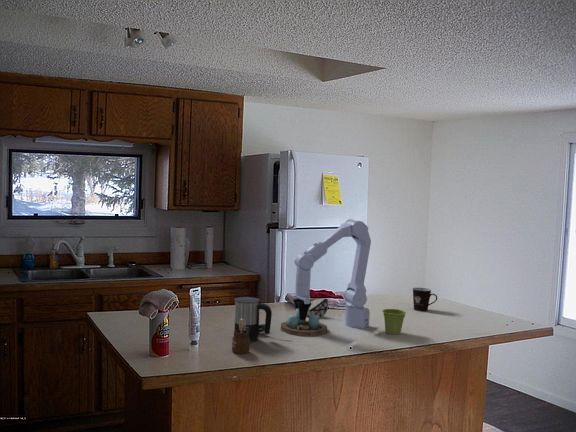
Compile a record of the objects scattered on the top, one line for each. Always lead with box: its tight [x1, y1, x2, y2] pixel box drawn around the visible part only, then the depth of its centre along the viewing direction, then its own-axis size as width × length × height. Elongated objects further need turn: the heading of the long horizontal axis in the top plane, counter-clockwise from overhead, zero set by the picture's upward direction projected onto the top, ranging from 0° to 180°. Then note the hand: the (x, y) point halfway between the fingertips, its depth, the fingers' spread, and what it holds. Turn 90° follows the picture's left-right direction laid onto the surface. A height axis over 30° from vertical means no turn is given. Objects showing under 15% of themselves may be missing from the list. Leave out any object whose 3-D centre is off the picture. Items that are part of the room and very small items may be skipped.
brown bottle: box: [231, 319, 251, 355], centre depth 208 cm, size 6×6×12 cm
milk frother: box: [233, 296, 273, 343], centre depth 228 cm, size 14×16×15 cm
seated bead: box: [308, 315, 320, 330], centre depth 240 cm, size 4×4×5 cm
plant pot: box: [382, 308, 407, 335], centre depth 244 cm, size 9×9×9 cm
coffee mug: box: [412, 286, 438, 312], centre depth 290 cm, size 12×9×10 cm
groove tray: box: [280, 320, 328, 337], centre depth 238 cm, size 18×18×2 cm
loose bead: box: [295, 308, 307, 323], centre depth 242 cm, size 4×4×5 cm
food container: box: [306, 297, 329, 318], centre depth 266 cm, size 12×6×10 cm
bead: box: [287, 314, 298, 330], centre depth 238 cm, size 4×4×5 cm
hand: (301, 318), depth 243 cm, fingers closed on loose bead, 4 cm apart
